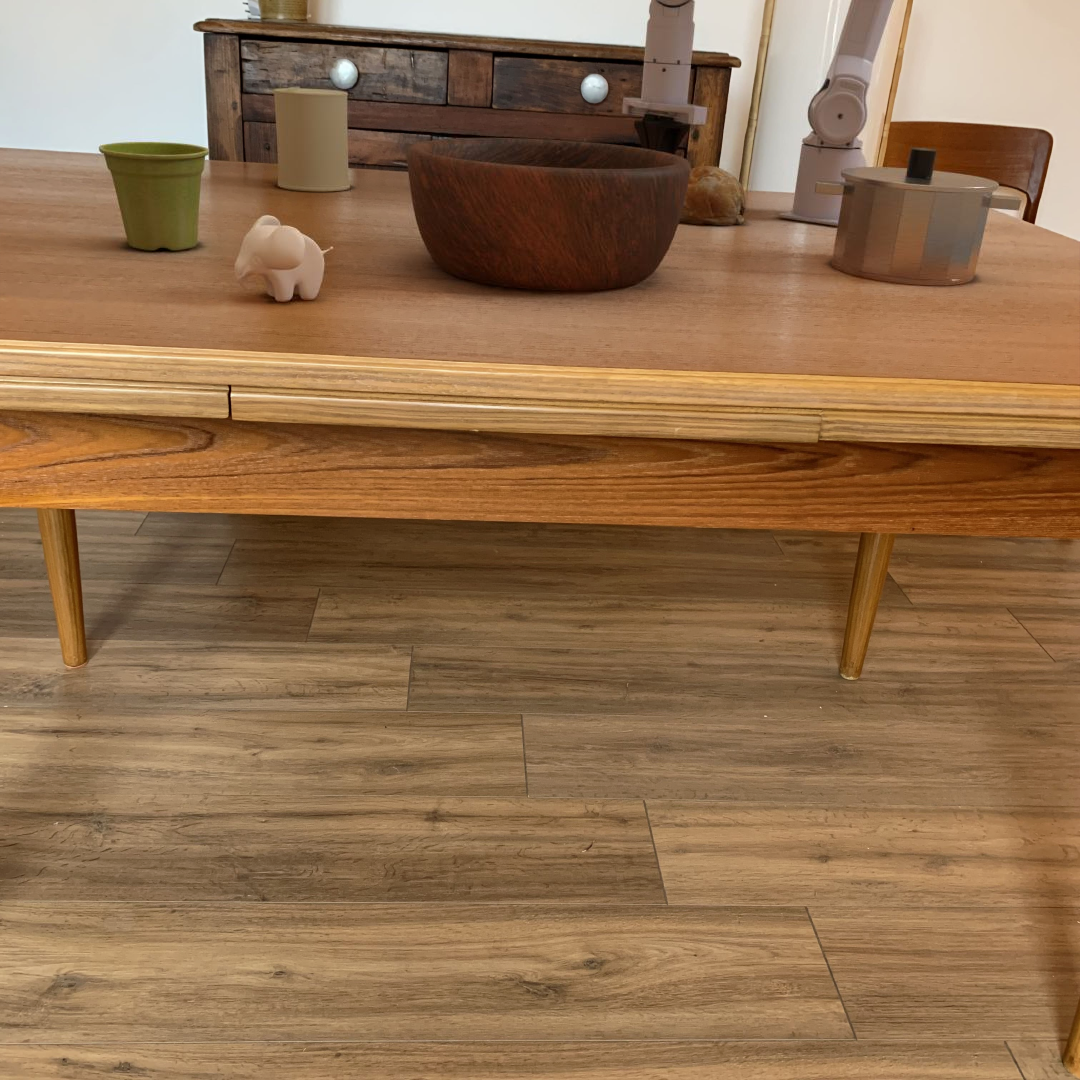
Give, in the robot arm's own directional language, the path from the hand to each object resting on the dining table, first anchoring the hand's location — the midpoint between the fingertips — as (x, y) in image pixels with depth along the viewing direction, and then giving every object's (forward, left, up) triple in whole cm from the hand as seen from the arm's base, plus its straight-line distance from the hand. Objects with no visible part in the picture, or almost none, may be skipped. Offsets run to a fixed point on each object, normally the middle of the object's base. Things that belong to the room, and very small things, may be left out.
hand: (656, 180), depth 139 cm
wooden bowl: (+43, +14, -4) cm, 46 cm away
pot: (+15, +38, -3) cm, 41 cm away
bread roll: (+3, +9, -4) cm, 10 cm away
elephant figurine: (+68, +7, -4) cm, 69 cm away
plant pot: (+62, -16, -4) cm, 65 cm away
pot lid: (+15, +38, +5) cm, 41 cm away
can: (+23, -37, -4) cm, 44 cm away
